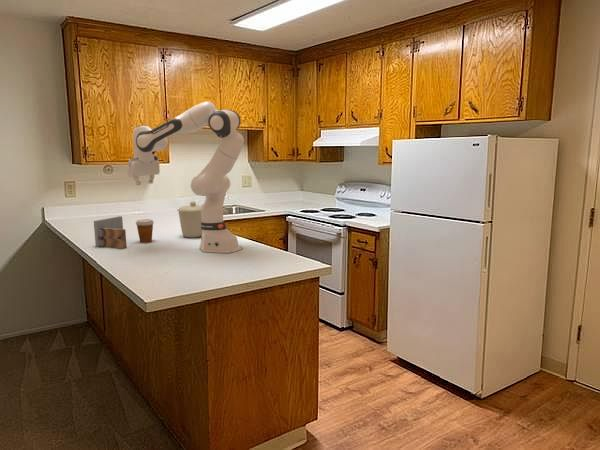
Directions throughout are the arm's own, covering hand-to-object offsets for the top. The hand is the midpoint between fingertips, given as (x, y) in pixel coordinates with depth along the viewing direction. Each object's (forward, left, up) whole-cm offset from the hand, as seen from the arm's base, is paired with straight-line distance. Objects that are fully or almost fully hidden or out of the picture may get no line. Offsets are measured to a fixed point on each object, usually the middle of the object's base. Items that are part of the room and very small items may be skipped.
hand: (144, 184), depth 236 cm
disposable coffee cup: (+9, -8, -33) cm, 35 cm away
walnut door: (+14, +10, -33) cm, 37 cm away
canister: (-7, -31, -33) cm, 46 cm away
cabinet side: (+22, +4, -33) cm, 40 cm away
